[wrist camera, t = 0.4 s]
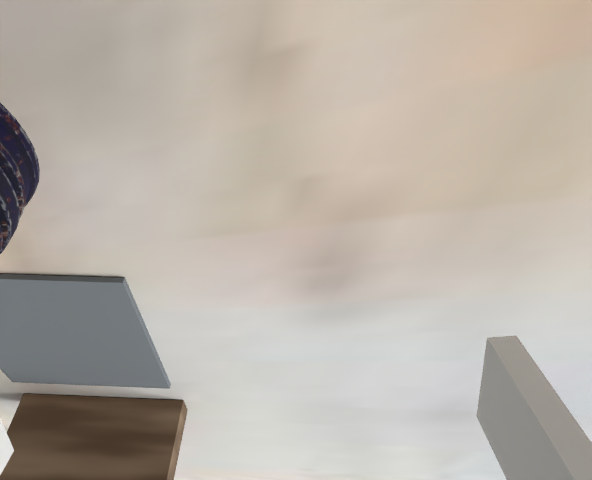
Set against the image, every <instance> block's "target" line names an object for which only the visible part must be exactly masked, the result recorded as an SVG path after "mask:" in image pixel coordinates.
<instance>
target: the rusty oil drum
mask: <svg viewBox="0 0 592 480" xmlns="http://www.w3.org/2000/svg"><path fill="white" fill-rule="evenodd" d="M39 172H40V169H39V164H38V158H37V155H36V153H35V150H34V147H33V145H32V143H31V141H30V140H29V138H28V136H27V134H26V132H25V131H24V130H23V128H22V127H21V126H20V124H19V123H18V122H17V120H16V119H15V118H14V117H13V116H12V115H11V114H10V112H9V111H8V110H7V109H6V108H5V107H4V106H3V105H2V104H1V103H0V254H1V253H2V252H3V250H4V249H5V247H6V246H7V244H8V243H9V241H10V239H11V237H12V236H13V234H14V232H15V230H16V229H17V226H18V222H19V218H20V217H21V215H22V213H23V210H24V207H25V206H26V205H27V204H28V202H29V201H30V199H31V198H32V196H33V194H34V192H35V191H36V188H37V185H38V182H39Z"/></svg>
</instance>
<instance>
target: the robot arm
mask: <svg viewBox="0 0 592 480" xmlns="http://www.w3.org/2000/svg"><path fill="white" fill-rule="evenodd" d="M477 418H478V420H479V422H480V424H481V426H482V429H483V431H484V433H485V435H486V437H487V439H488V441H489V443H490V445H491V447H492V449H493V452H494V454H495V456H496V458H497V460H498V462H499V464H500V466H501V468H502V470H503V472H504V475H505V477H506V479H507V480H592V443H591V441H590V440H589V439H588V437H587V436H586V434H585V433H584V431H583V430H582V429H581V427H580V426H579V424H578V423H577V421H576V420H575V419H574V417H573V416H572V414H571V413H570V412H569V410H568V409H567V407H566V406H565V404H564V403H563V402H562V400H561V399H560V397H559V396H558V394H557V393H556V392H555V390H554V389H553V387H552V386H551V385H550V383H549V382H548V380H547V379H546V377H545V376H544V375H543V373H542V372H541V370H540V369H539V367H538V366H537V365H536V363H535V362H534V360H533V359H532V357H531V356H530V355H529V353H528V352H527V350H526V349H525V348H524V346H523V345H522V343H521V342H520V340H519V339H518V338H517V336H506V337H492V338H487V342H486V350H485V357H484V365H483V372H482V380H481V387H480V395H479V402H478V410H477ZM13 452H14V449H13V447H12V444H11V442H10V439H9V437H8V435H7V432H6V430H5V428H4V425H3V423H2V421H1V418H0V475H1V473H2V471H3V470H4V468H5V466H6V464H7V462H8V461H9V459H10V457H11V455H12V454H13Z"/></svg>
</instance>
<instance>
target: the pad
mask: <svg viewBox="0 0 592 480" xmlns="http://www.w3.org/2000/svg"><path fill="white" fill-rule="evenodd" d="M0 369H1V370H2V371H3V372H4V373H5V374H6V376H7V377H8V378H9V379H10V380H11V381H12V382H22V383H47V384H71V385H95V386H120V387H144V388H170V382H169V379H168V377H167V375H166V372H165V370H164V368H163V365H162V363H161V361H160V358H159V356H158V354H157V351H156V349H155V347H154V344H153V342H152V340H151V337H150V335H149V333H148V330H147V328H146V326H145V324H144V321H143V319H142V317H141V314H140V312H139V310H138V307H137V305H136V303H135V300H134V298H133V296H132V293H131V291H130V289H129V286H128V284H127V282H126V279H125V278H119V277H87V276H54V275H22V274H0Z"/></svg>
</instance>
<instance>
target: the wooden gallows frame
mask: <svg viewBox="0 0 592 480" xmlns="http://www.w3.org/2000/svg"><path fill="white" fill-rule="evenodd" d="M186 415H187V408H186V406H185V403H184V401H183V400H163V399H139V398H115V397H91V396H68V395H44V394H23V396H22V399H21V401H20V403H19V406H18V408H17V410H16V413H15V415H14V417H13V420H12V422H11V424H10V427H9V429H8V431H7V435H8V437H9V439H10V442H11V444H12V447H13V449H14V452H13V454H12V455H11V457H10V459H9V461H8V462H7V464H6V466H5V468H4V470H3V471H2V473H1V475H0V480H174V475H175V470H176V465H177V460H178V455H179V450H180V445H181V440H182V435H183V430H184V425H185V420H186Z"/></svg>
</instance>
